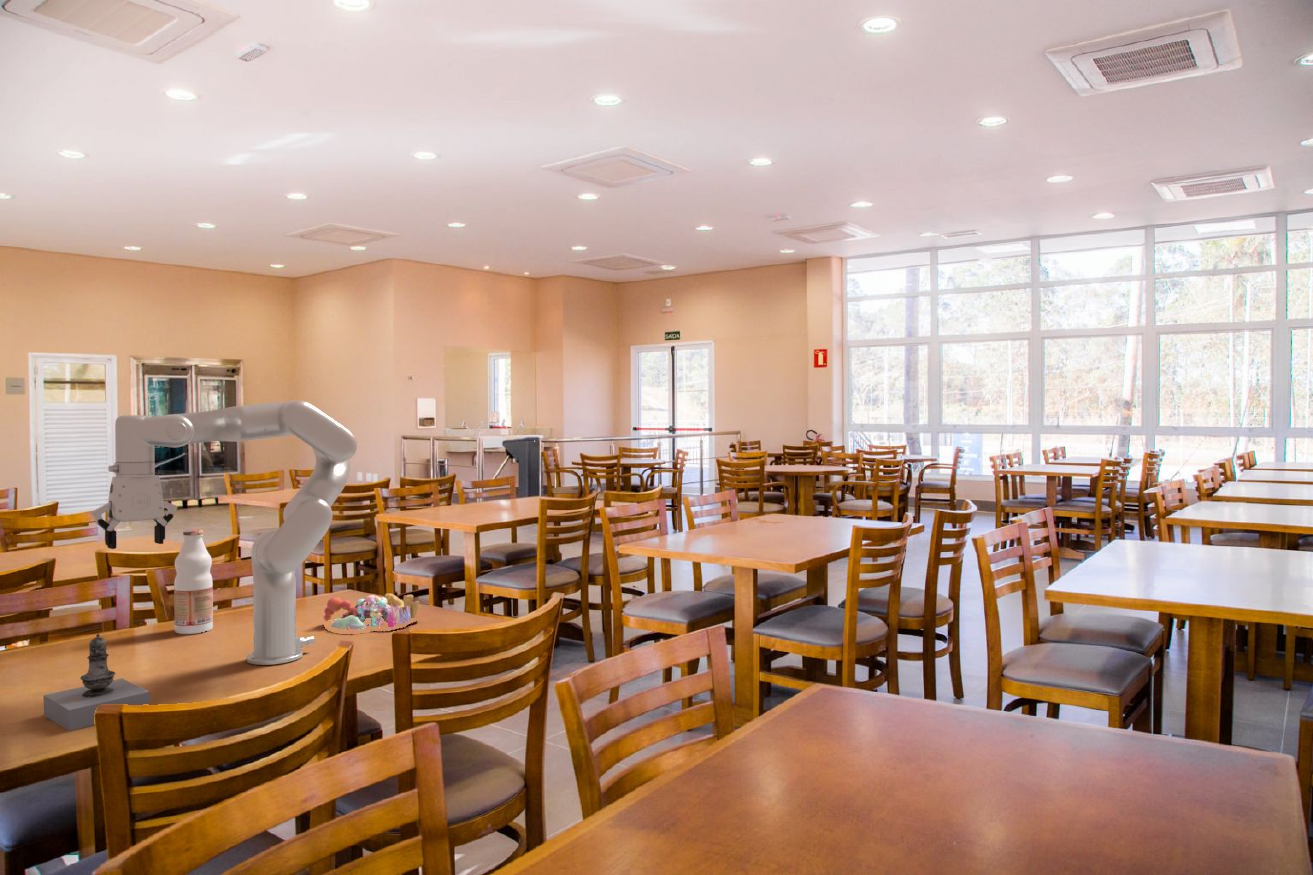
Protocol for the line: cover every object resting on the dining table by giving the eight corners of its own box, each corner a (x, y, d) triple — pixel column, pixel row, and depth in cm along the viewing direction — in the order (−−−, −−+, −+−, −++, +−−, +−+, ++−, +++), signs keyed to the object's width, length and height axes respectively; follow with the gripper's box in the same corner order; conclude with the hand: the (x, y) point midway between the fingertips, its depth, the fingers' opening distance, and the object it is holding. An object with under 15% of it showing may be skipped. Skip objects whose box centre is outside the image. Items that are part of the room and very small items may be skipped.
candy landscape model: (383, 612, 261) (383, 582, 260) (434, 623, 247) (433, 591, 247) (309, 628, 240) (309, 596, 240) (359, 641, 227) (359, 606, 226)
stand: (122, 697, 179) (121, 678, 179) (150, 711, 170) (149, 691, 170) (43, 715, 168) (43, 695, 168) (69, 731, 159) (69, 710, 159)
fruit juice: (169, 635, 230) (168, 533, 229) (180, 627, 239) (180, 528, 239) (207, 634, 232) (206, 532, 231) (217, 625, 241) (216, 527, 241)
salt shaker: (73, 696, 167) (72, 636, 167) (98, 687, 173) (97, 628, 173) (98, 698, 166) (97, 637, 166) (122, 689, 172) (122, 630, 171)
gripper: (98, 472, 181) (98, 552, 182) (183, 469, 195) (183, 543, 195) (84, 471, 186) (85, 548, 186) (169, 467, 200) (169, 540, 200)
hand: (135, 545), depth 191 cm, fingers open, 9 cm apart
